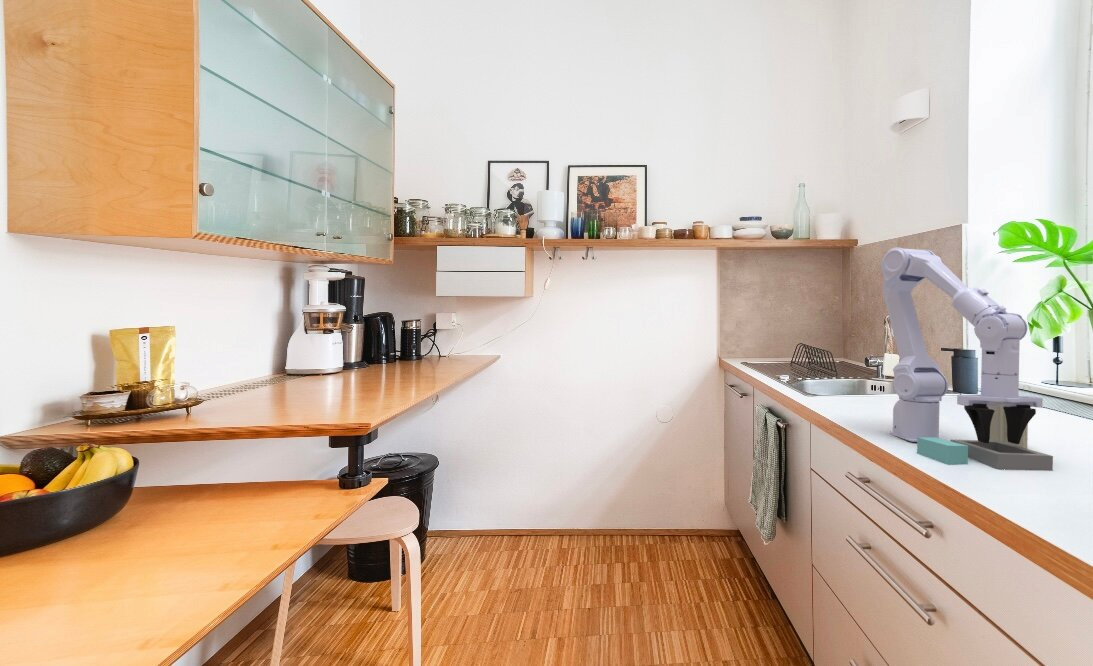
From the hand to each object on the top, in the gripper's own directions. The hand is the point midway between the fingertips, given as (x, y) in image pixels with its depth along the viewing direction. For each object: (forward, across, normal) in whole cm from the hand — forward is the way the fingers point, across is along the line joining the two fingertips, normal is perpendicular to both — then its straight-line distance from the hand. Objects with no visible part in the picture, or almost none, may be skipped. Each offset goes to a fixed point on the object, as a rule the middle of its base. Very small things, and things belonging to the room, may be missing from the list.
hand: (998, 442), depth 107 cm
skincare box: (+4, +8, +10) cm, 13 cm away
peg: (+4, -10, 0) cm, 11 cm away
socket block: (+4, 0, 0) cm, 4 cm away
